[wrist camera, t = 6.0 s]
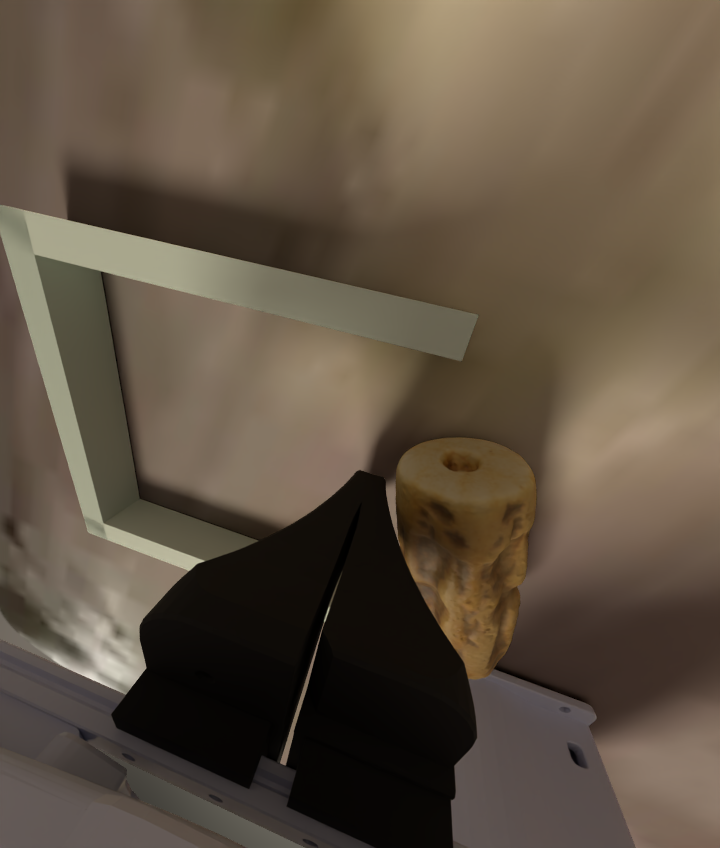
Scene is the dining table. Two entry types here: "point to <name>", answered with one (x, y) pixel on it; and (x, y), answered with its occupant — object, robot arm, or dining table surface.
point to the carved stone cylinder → (467, 540)
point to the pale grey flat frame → (97, 369)
